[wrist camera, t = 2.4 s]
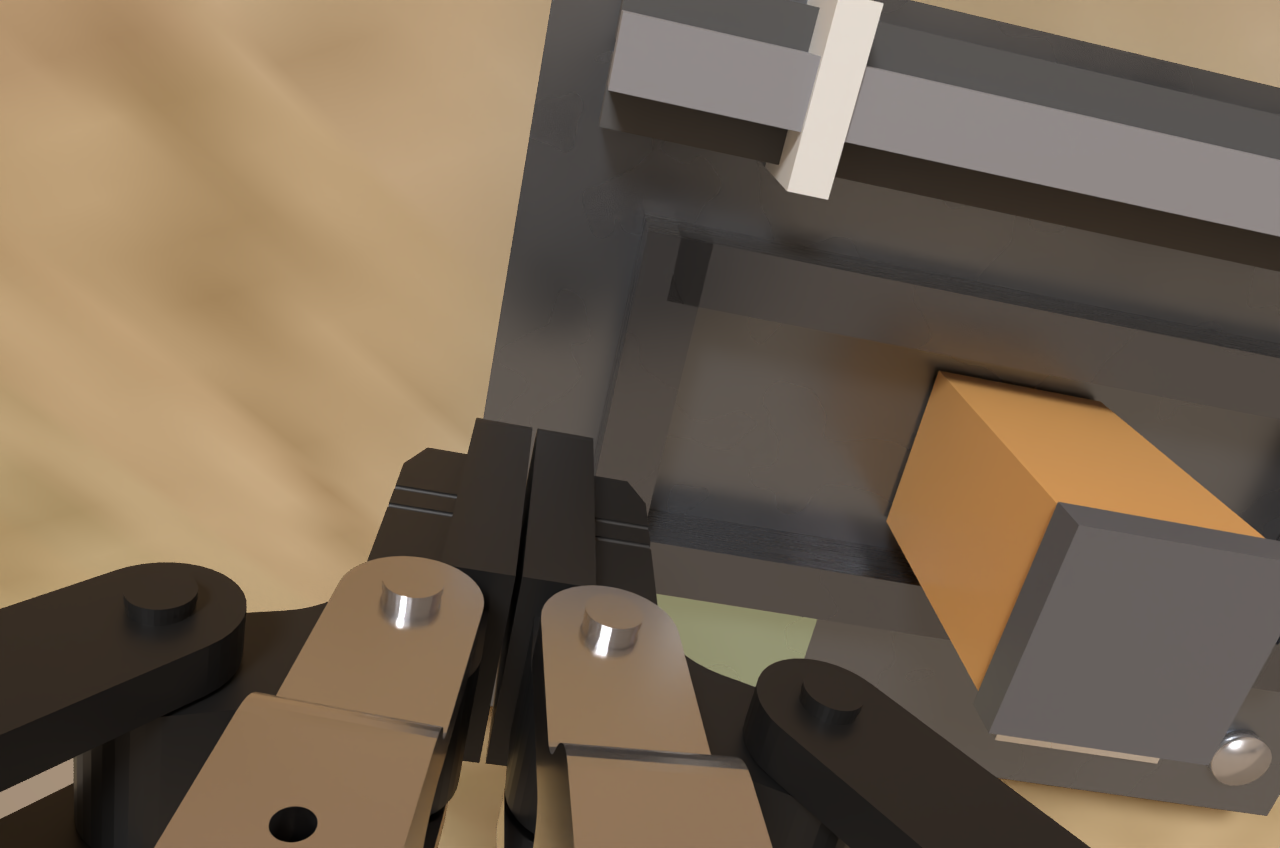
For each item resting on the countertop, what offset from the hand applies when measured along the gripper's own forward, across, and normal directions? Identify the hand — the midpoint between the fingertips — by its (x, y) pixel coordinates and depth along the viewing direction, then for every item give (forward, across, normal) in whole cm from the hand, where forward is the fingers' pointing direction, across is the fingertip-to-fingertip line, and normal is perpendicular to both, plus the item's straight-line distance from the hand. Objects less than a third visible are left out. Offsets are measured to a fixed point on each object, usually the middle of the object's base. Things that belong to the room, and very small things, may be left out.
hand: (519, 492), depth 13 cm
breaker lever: (+4, -8, 0) cm, 9 cm away
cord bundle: (+5, -8, -5) cm, 11 cm away
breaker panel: (+6, -8, 0) cm, 10 cm away
